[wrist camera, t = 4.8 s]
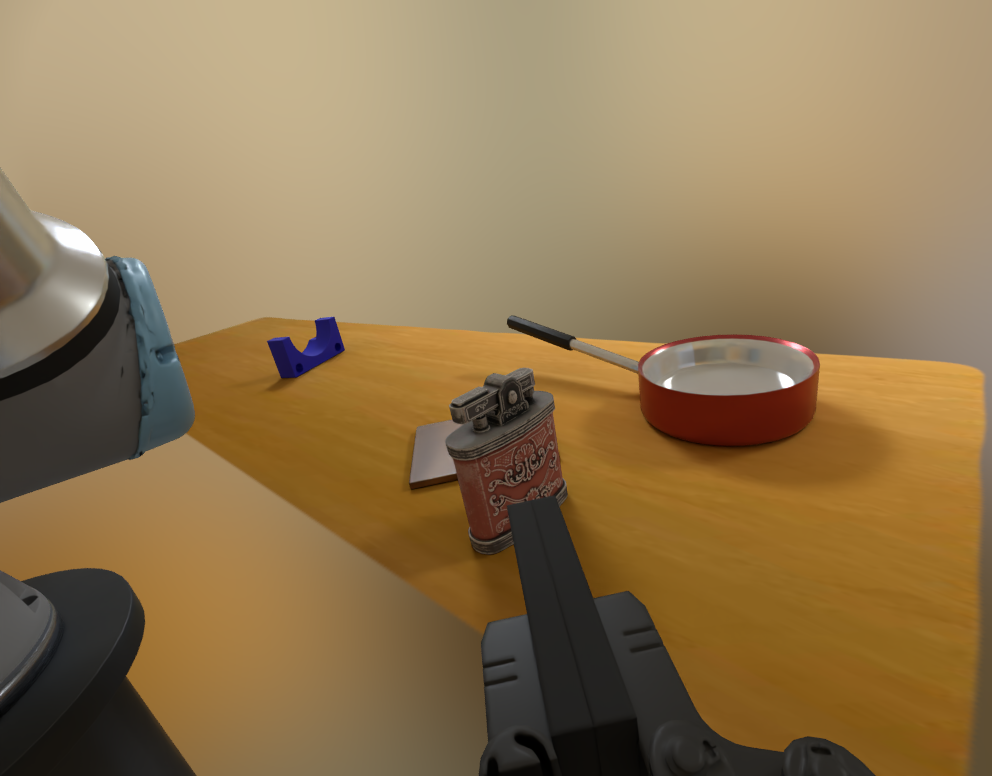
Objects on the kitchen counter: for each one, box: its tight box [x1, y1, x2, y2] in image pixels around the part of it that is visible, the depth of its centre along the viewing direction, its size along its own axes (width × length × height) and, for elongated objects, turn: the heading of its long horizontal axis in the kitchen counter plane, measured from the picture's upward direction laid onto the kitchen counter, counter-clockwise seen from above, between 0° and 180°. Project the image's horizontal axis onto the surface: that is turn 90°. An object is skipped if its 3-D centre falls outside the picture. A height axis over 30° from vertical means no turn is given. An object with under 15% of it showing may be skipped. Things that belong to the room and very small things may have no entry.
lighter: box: [445, 368, 568, 554], centre depth 29 cm, size 8×3×10 cm, turn 132°
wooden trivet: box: [409, 420, 463, 489], centre depth 41 cm, size 12×10×1 cm
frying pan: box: [507, 316, 820, 446], centre depth 45 cm, size 32×13×6 cm, turn 45°
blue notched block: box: [267, 317, 345, 378], centre depth 76 cm, size 12×4×6 cm, turn 159°
